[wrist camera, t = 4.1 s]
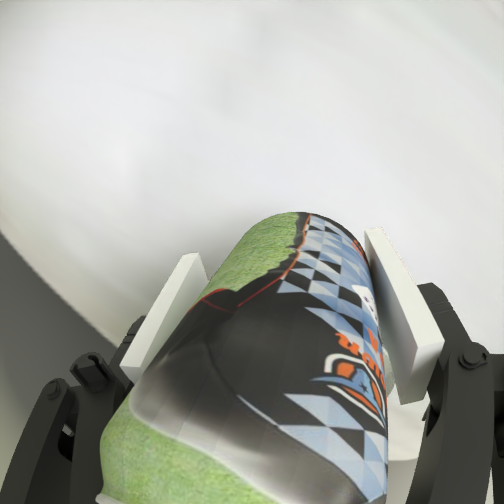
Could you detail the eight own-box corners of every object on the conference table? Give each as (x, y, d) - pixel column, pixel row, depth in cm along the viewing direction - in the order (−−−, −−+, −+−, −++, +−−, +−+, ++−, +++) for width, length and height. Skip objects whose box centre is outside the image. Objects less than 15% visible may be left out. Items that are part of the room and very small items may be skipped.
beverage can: (339, 323, 15) (358, 561, 4) (201, 299, 15) (116, 534, 4) (381, 214, 12) (518, 516, 1) (210, 180, 12) (-2, 488, 1)
